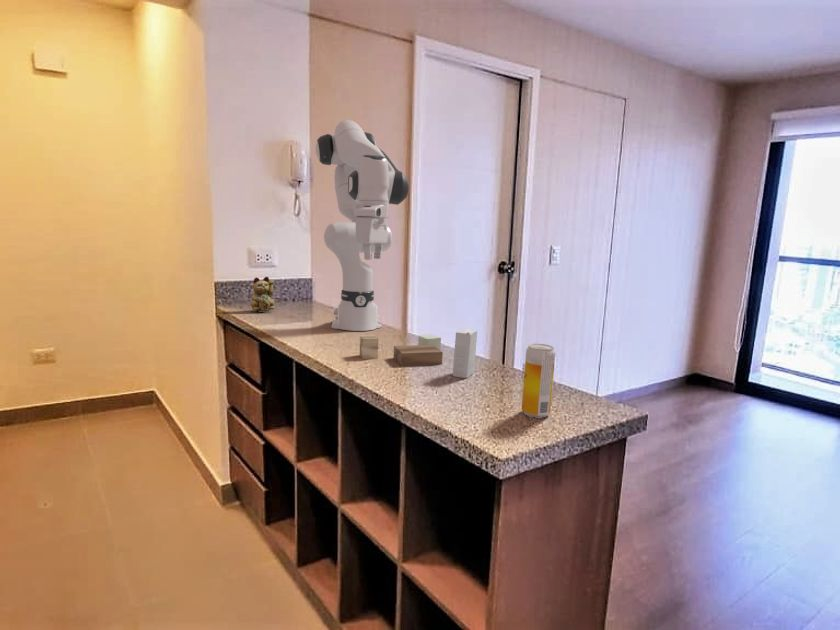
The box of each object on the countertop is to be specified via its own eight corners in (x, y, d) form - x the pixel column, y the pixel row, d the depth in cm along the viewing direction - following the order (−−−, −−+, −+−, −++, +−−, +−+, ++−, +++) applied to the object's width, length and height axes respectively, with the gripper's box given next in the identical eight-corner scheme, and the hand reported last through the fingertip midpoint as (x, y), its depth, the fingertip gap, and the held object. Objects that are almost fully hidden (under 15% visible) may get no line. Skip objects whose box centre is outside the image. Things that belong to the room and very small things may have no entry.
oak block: (359, 355, 160) (360, 335, 159) (374, 354, 162) (374, 335, 161) (362, 359, 156) (363, 338, 155) (377, 358, 158) (378, 338, 157)
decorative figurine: (255, 314, 220) (254, 277, 217) (246, 311, 226) (246, 275, 224) (277, 312, 226) (277, 276, 224) (268, 309, 232) (268, 274, 230)
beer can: (537, 407, 120) (542, 342, 118) (555, 416, 115) (562, 348, 112) (515, 411, 117) (520, 344, 115) (533, 420, 112) (539, 350, 110)
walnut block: (393, 359, 159) (393, 346, 158) (431, 357, 163) (432, 344, 162) (401, 367, 150) (402, 353, 150) (441, 365, 154) (442, 352, 153)
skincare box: (459, 371, 148) (462, 328, 146) (475, 373, 146) (477, 329, 144) (451, 376, 142) (454, 331, 140) (467, 379, 140) (470, 333, 138)
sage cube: (418, 351, 169) (418, 335, 168) (431, 349, 171) (431, 334, 170) (426, 355, 165) (427, 339, 164) (440, 353, 167) (440, 337, 166)
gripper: (373, 213, 167) (372, 257, 169) (351, 209, 148) (351, 259, 150) (393, 213, 166) (392, 258, 168) (373, 209, 146) (373, 260, 148)
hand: (372, 259), depth 159 cm, fingers open, 8 cm apart
